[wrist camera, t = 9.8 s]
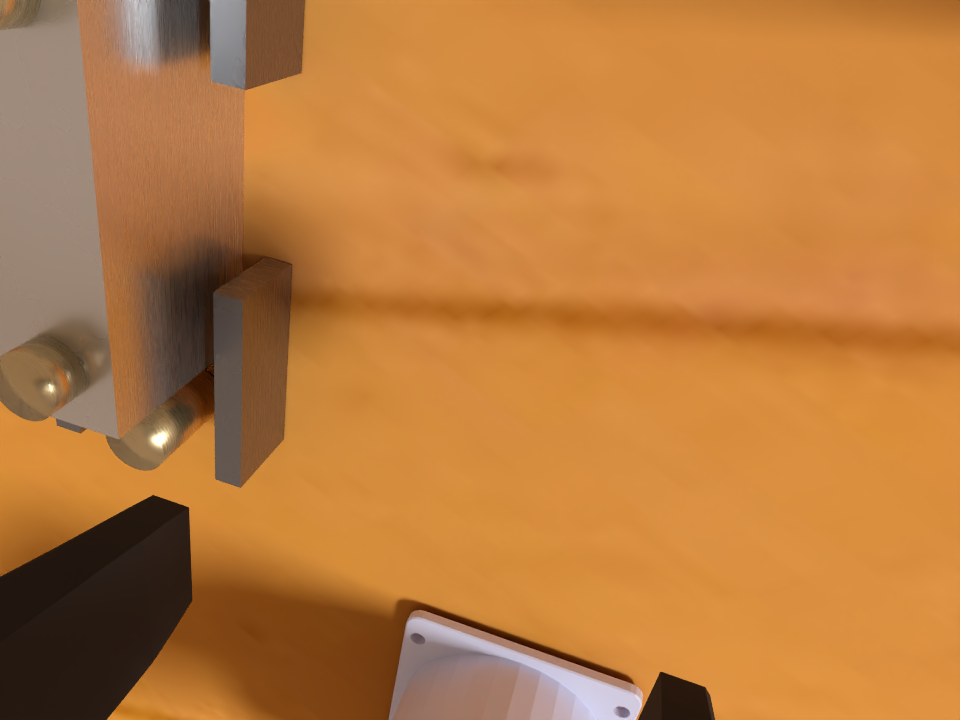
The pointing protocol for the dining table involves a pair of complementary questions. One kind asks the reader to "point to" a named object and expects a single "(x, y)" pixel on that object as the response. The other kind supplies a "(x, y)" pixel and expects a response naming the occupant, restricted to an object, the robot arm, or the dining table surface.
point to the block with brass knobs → (112, 205)
